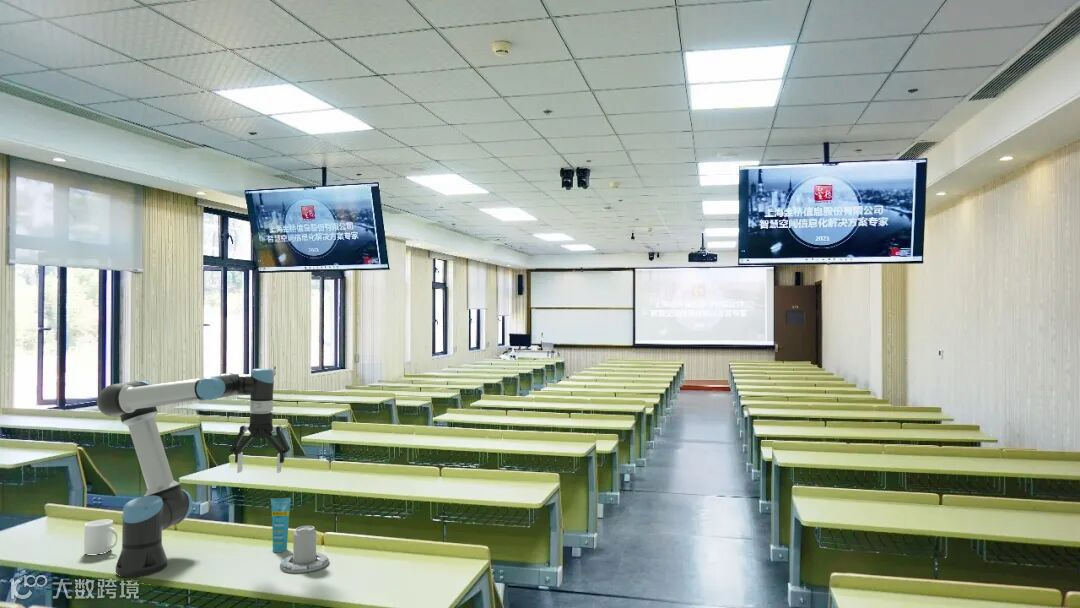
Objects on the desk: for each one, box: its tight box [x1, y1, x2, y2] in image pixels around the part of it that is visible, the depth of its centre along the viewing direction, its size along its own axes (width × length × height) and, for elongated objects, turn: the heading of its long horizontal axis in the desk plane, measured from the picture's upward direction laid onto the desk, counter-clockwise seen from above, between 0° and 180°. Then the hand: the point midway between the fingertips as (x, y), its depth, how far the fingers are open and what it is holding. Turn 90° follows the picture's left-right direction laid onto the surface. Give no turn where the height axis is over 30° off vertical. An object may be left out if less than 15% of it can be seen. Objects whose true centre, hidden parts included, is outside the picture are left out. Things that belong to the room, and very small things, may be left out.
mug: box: [83, 518, 118, 554], centre depth 245 cm, size 9×12×11 cm
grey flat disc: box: [279, 551, 330, 575], centre depth 232 cm, size 16×16×2 cm
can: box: [292, 525, 317, 564], centre depth 233 cm, size 8×8×12 cm
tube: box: [270, 497, 292, 553], centre depth 248 cm, size 7×5×19 cm, turn 98°
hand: (259, 472), depth 239 cm, fingers open, 13 cm apart
